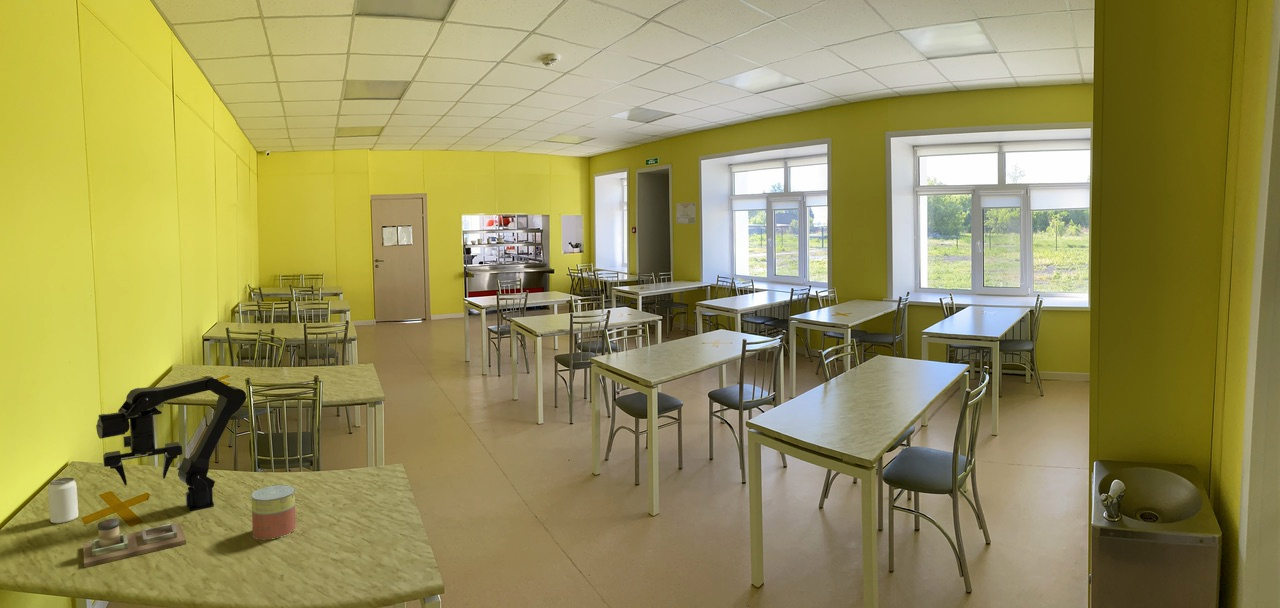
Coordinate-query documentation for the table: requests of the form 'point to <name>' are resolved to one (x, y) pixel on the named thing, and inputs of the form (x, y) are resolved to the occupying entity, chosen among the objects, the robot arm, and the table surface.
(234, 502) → the table surface
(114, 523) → the cylinder
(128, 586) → the table surface
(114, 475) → the table surface
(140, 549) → the board
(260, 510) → the canned food
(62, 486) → the can
